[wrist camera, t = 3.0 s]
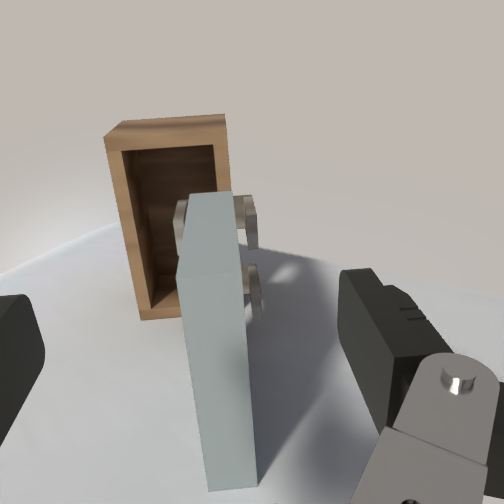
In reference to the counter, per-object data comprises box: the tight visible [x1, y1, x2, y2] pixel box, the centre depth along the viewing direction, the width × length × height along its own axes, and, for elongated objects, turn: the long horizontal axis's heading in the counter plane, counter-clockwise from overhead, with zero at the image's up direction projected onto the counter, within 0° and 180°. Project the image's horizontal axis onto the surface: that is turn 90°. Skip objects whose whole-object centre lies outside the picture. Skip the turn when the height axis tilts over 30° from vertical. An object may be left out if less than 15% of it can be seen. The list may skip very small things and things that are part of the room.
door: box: [176, 191, 258, 492], centre depth 28 cm, size 12×3×15 cm, turn 4°
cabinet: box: [103, 114, 262, 320], centre depth 41 cm, size 12×12×18 cm
